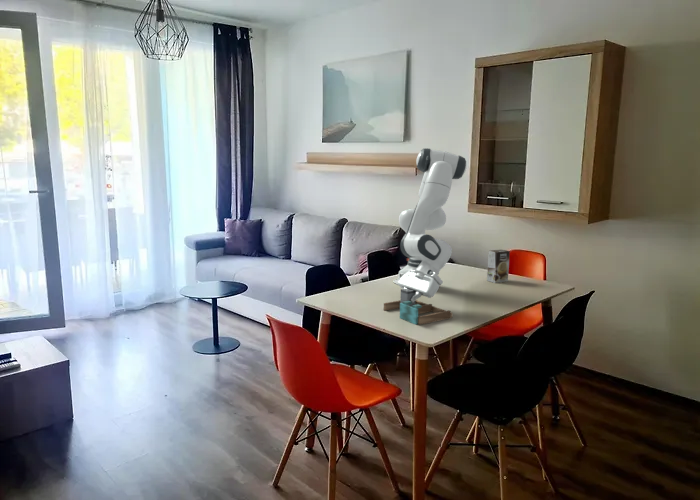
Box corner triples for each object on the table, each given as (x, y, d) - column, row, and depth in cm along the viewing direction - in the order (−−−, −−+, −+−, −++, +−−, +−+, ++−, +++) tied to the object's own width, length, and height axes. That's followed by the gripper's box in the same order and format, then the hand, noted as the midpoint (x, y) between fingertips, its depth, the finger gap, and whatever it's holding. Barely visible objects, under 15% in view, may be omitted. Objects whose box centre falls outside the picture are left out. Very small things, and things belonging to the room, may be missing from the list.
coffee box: (495, 283, 266) (496, 252, 263) (486, 280, 271) (488, 250, 268) (508, 281, 270) (510, 250, 267) (499, 278, 275) (501, 248, 273)
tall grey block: (400, 310, 217) (400, 289, 216) (408, 308, 219) (409, 288, 218) (406, 312, 214) (407, 291, 212) (415, 311, 216) (415, 290, 214)
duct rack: (381, 310, 217) (382, 294, 215) (415, 304, 226) (415, 289, 225) (417, 325, 198) (418, 308, 196) (452, 317, 207) (452, 301, 206)
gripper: (406, 265, 226) (387, 289, 222) (438, 273, 209) (418, 300, 205) (413, 273, 229) (395, 298, 225) (445, 283, 212) (426, 309, 209)
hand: (406, 299), depth 215 cm, fingers closed on tall grey block, 4 cm apart
